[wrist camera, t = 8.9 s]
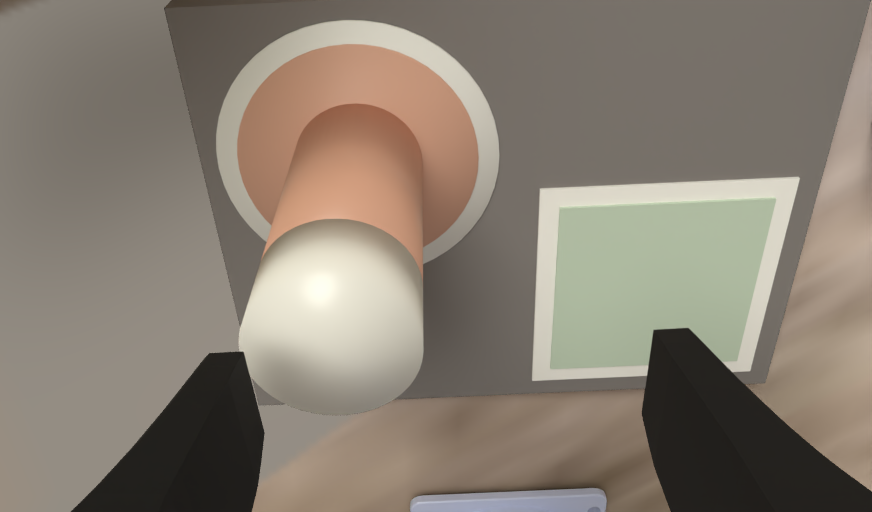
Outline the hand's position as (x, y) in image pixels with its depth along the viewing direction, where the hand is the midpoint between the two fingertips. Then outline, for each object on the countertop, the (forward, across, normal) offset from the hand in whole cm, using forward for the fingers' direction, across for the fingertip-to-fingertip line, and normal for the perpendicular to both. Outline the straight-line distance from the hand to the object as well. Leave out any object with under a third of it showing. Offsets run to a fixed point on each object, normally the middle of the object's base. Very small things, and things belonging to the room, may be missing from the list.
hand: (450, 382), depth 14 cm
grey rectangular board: (+10, -2, +3) cm, 11 cm away
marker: (+9, +2, 0) cm, 10 cm away
